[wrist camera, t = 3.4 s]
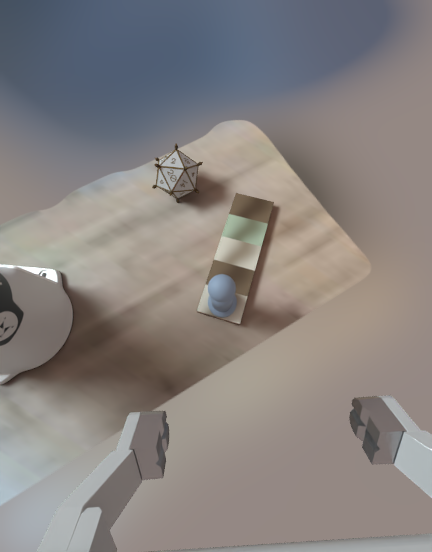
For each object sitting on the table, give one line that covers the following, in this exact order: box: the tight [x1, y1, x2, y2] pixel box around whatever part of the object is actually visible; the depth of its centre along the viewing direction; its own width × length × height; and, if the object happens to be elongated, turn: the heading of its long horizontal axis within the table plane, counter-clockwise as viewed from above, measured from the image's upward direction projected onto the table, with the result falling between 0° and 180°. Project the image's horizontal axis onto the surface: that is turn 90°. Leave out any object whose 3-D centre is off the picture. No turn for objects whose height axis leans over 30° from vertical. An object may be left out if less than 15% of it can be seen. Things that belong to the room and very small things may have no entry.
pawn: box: [208, 274, 237, 318], centre depth 34 cm, size 4×4×11 cm
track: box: [197, 193, 274, 325], centre depth 42 cm, size 7×22×1 cm, turn 163°
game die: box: [152, 144, 203, 203], centre depth 44 cm, size 9×8×10 cm
